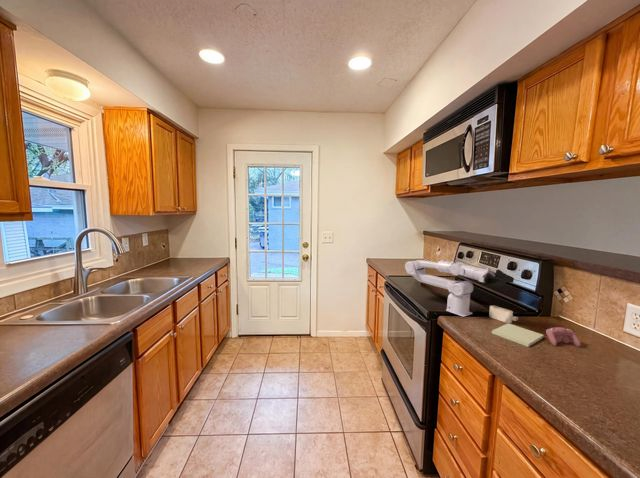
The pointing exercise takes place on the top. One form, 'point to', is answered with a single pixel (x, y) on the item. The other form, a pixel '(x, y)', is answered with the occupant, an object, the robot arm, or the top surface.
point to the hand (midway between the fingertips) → (509, 281)
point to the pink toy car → (566, 337)
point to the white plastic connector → (502, 314)
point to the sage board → (518, 334)
